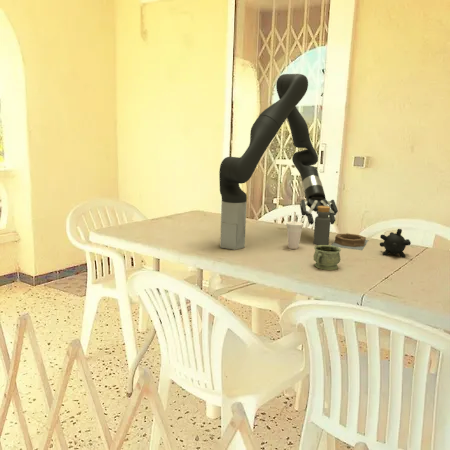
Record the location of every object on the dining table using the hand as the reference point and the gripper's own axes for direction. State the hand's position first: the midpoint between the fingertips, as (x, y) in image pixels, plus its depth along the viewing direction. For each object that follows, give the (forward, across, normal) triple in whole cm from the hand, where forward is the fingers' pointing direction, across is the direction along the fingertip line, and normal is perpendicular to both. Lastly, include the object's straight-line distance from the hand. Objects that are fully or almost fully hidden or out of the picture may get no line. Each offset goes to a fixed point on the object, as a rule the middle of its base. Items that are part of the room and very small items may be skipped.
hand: (322, 223), depth 182 cm
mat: (+6, +12, +6) cm, 15 cm away
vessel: (+26, -10, -13) cm, 30 cm away
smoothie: (+9, -13, +3) cm, 16 cm away
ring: (+6, +12, +6) cm, 15 cm away
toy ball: (+19, +20, -6) cm, 28 cm away
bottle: (+6, 0, +6) cm, 9 cm away
